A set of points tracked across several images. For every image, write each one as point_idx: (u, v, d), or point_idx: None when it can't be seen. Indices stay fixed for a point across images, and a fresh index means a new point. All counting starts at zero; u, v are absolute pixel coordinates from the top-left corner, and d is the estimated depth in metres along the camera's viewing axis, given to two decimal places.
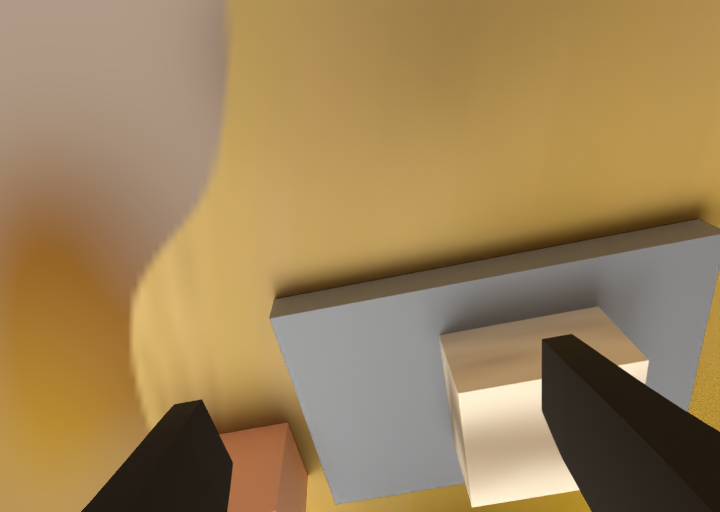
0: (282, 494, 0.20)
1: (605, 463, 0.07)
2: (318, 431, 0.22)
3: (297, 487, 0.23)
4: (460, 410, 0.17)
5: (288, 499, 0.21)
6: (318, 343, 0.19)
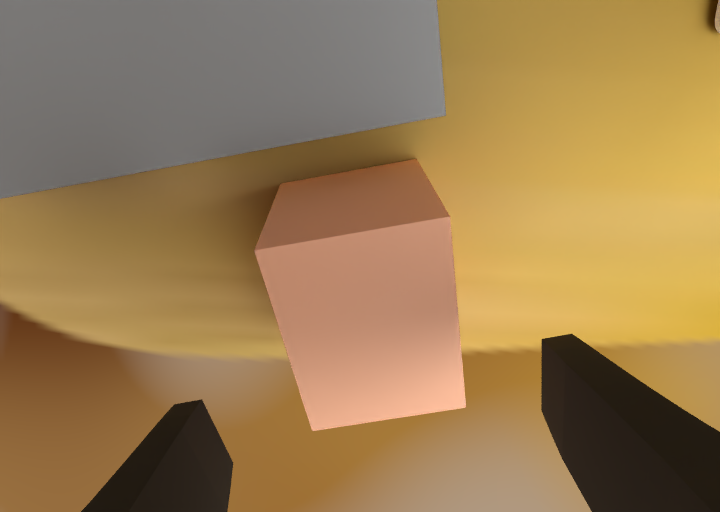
0: (282, 227, 0.11)
1: (605, 463, 0.07)
2: (233, 139, 0.12)
3: (365, 187, 0.12)
4: None
5: (321, 214, 0.11)
6: (24, 127, 0.12)
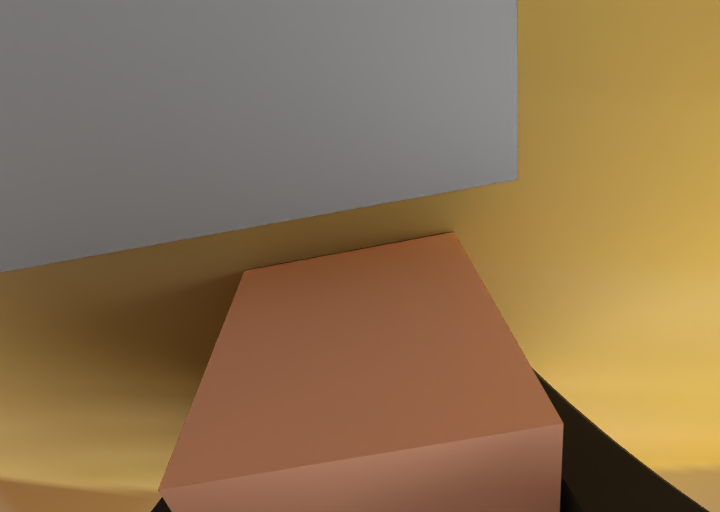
0: (226, 406, 0.06)
1: None
2: (154, 219, 0.07)
3: (378, 300, 0.07)
4: None
5: (301, 371, 0.06)
6: None
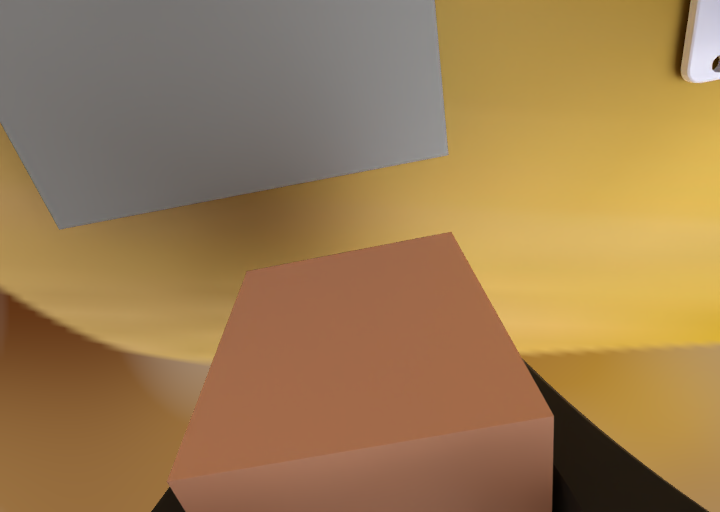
0: (231, 401, 0.06)
1: None
2: (264, 176, 0.14)
3: (377, 299, 0.08)
4: None
5: (303, 368, 0.06)
6: (85, 169, 0.14)
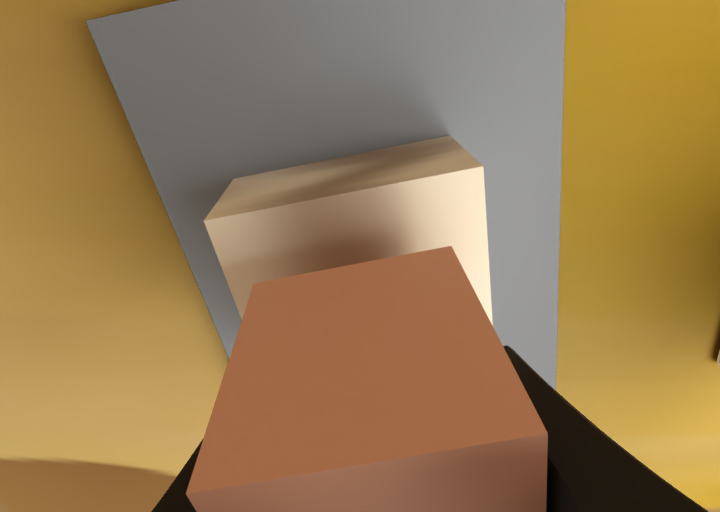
0: (243, 415, 0.06)
1: None
2: None
3: (380, 314, 0.08)
4: None
5: (311, 383, 0.07)
6: None
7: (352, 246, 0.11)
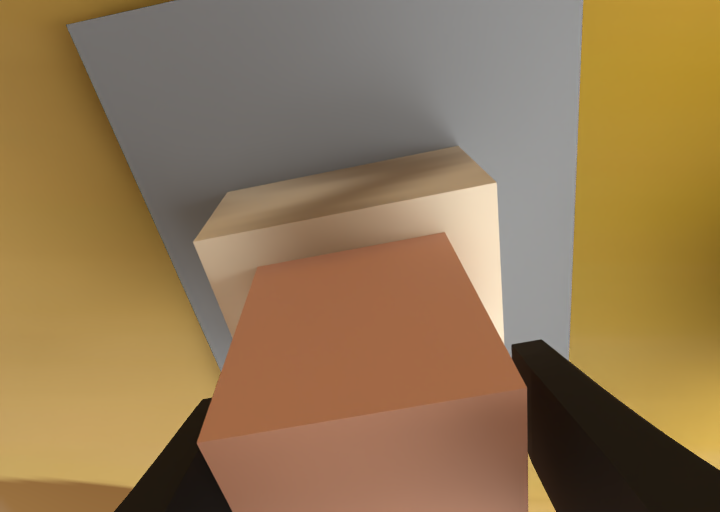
0: (249, 378, 0.07)
1: (567, 469, 0.07)
2: None
3: (377, 291, 0.08)
4: None
5: (311, 350, 0.07)
6: None
7: None
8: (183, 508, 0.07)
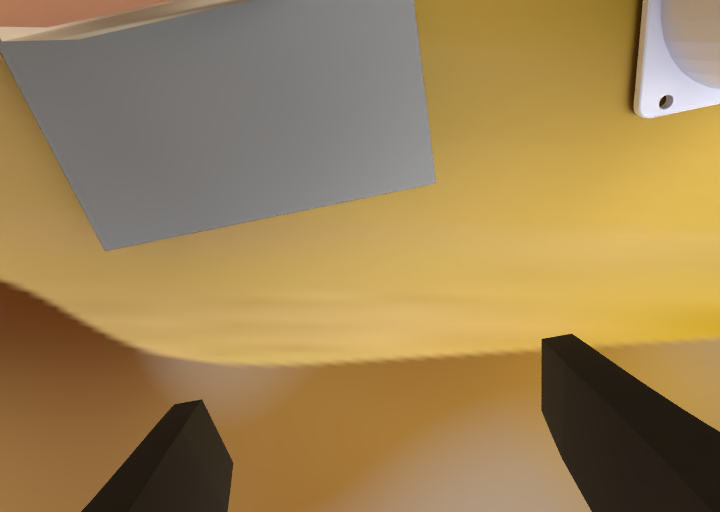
0: None
1: (605, 463, 0.07)
2: (279, 204, 0.16)
3: None
4: (40, 31, 0.10)
5: None
6: (128, 200, 0.16)
7: None
8: None
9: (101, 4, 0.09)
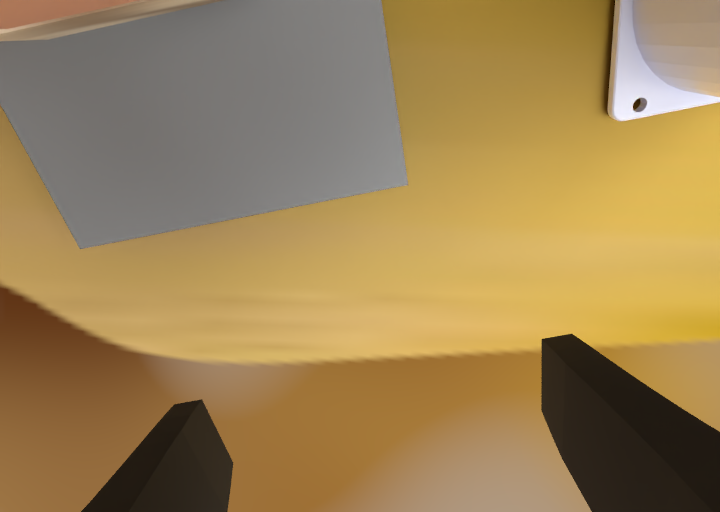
0: None
1: (605, 463, 0.07)
2: (252, 204, 0.16)
3: None
4: None
5: None
6: (102, 199, 0.16)
7: None
8: None
9: (52, 7, 0.09)
